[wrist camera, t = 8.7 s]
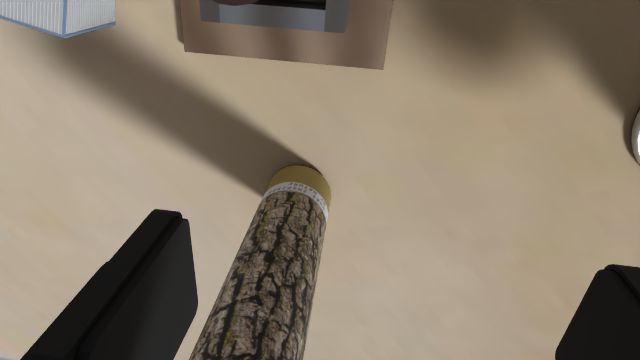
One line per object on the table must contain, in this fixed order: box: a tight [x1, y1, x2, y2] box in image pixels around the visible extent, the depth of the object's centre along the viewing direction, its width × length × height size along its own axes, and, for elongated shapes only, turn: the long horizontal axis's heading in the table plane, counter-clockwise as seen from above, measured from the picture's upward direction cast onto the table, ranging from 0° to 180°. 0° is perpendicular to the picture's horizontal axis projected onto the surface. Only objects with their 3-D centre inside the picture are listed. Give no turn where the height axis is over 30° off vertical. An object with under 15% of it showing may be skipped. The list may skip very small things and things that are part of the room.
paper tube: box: [189, 165, 331, 360], centre depth 33 cm, size 7×7×25 cm
